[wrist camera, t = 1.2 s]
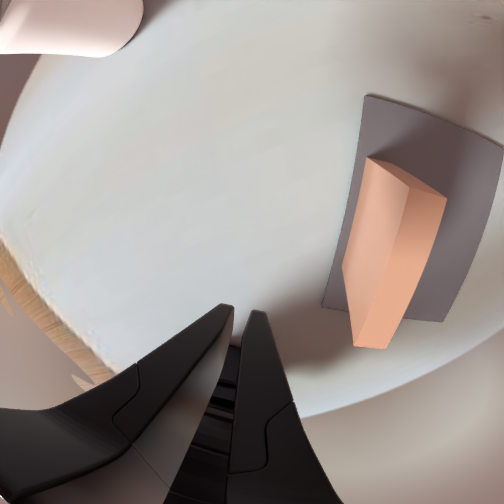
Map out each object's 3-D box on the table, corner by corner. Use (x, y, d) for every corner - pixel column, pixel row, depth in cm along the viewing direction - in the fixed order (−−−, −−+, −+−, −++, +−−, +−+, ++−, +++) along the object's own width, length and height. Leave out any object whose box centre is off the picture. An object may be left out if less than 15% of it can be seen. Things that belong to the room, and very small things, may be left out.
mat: (441, 319, 20) (442, 322, 20) (321, 304, 22) (321, 307, 21) (501, 148, 13) (504, 149, 12) (364, 95, 14) (365, 95, 14)
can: (146, -20, 12) (39, -67, 1) (148, 41, 14) (15, 13, 4) (86, 11, 13) (-21, -3, 2) (85, 69, 16) (-36, 76, 5)
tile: (364, 269, 19) (386, 349, 12) (341, 266, 19) (353, 346, 12) (392, 163, 15) (448, 198, 8) (366, 157, 16) (409, 187, 9)
